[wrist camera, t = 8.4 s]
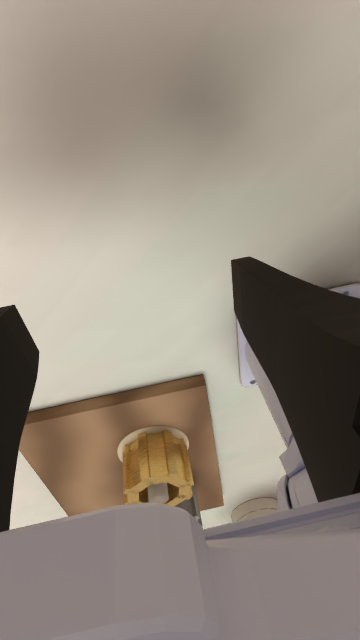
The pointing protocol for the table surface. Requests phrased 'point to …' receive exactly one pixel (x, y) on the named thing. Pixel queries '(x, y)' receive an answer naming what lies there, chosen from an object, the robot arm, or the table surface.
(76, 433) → the board
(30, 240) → the table surface
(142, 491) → the brass gear
